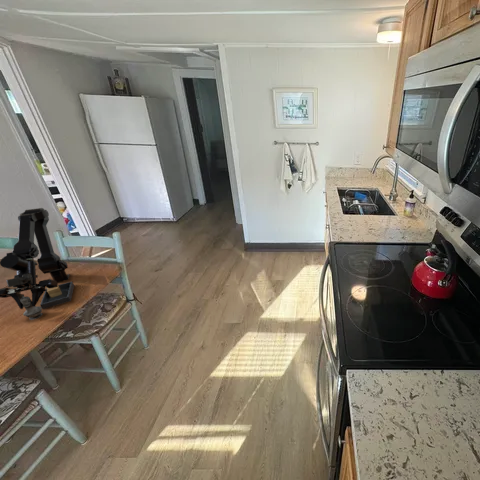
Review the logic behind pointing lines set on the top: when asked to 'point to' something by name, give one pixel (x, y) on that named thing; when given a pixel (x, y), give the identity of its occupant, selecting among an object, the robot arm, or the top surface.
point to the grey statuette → (31, 309)
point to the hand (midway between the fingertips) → (27, 307)
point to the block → (54, 291)
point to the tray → (63, 298)
